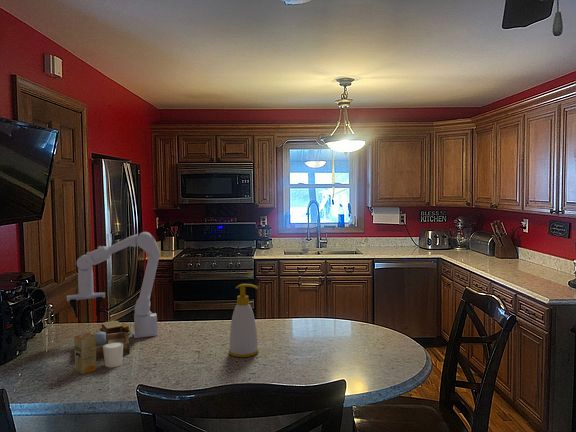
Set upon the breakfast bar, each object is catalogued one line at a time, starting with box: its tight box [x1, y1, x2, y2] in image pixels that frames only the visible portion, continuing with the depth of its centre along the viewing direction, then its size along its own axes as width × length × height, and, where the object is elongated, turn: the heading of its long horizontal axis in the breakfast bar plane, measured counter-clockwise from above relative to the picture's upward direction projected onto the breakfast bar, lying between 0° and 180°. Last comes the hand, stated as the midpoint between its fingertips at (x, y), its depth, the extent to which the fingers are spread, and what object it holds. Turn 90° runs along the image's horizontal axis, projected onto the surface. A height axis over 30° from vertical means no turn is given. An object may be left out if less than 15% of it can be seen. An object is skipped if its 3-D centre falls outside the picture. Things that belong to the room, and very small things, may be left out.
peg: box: [94, 331, 106, 346], centre depth 179 cm, size 4×4×6 cm
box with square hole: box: [96, 332, 131, 359], centre depth 177 cm, size 18×16×4 cm
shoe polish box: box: [73, 332, 97, 375], centre depth 157 cm, size 5×5×12 cm
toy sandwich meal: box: [99, 320, 132, 336], centre depth 197 cm, size 12×14×5 cm
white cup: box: [103, 342, 124, 368], centre depth 162 cm, size 7×7×7 cm
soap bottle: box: [228, 283, 259, 358], centre depth 172 cm, size 11×12×26 cm
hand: (87, 316), depth 190 cm, fingers open, 7 cm apart
